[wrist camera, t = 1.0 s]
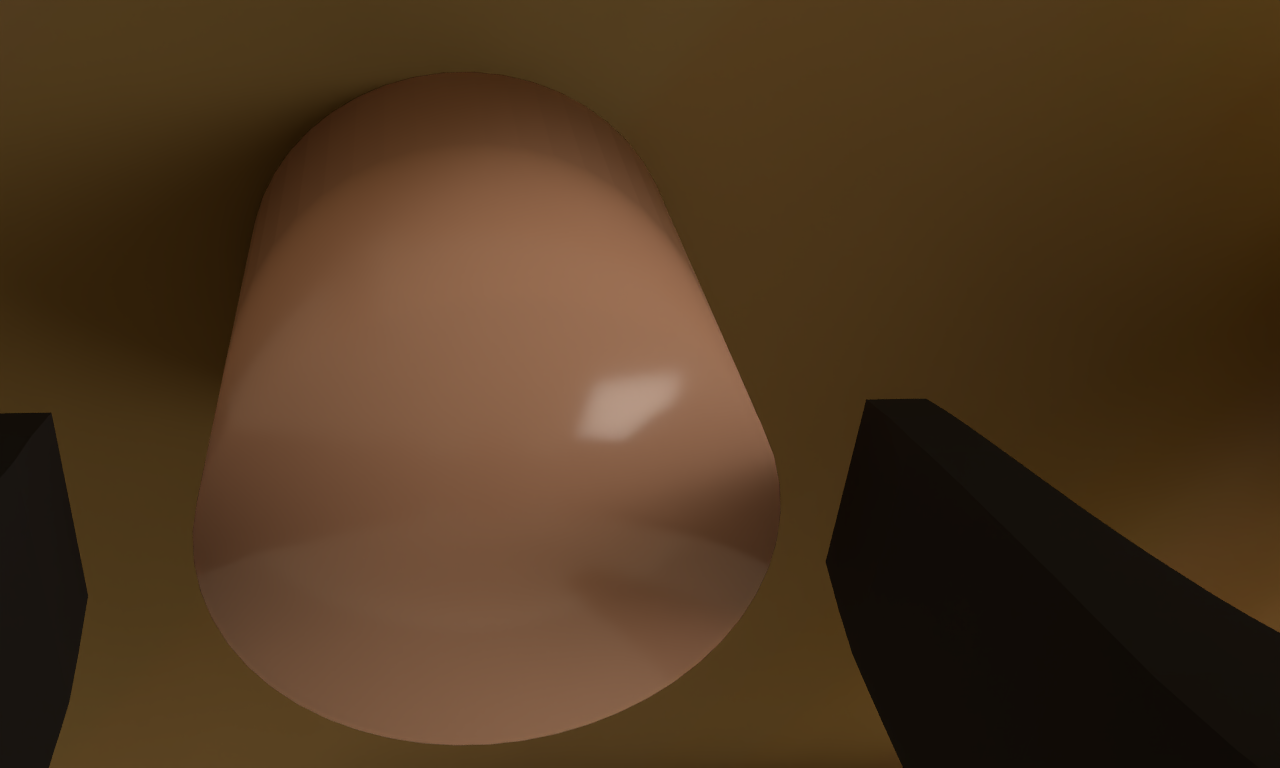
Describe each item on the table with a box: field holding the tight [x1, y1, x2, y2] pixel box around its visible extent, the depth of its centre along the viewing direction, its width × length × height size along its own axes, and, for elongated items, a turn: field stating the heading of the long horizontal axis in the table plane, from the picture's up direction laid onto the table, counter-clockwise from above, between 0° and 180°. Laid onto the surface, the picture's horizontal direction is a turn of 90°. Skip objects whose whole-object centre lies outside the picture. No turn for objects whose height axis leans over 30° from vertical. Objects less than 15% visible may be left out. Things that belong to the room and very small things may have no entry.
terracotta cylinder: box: [193, 72, 780, 745], centre depth 12 cm, size 5×5×5 cm
